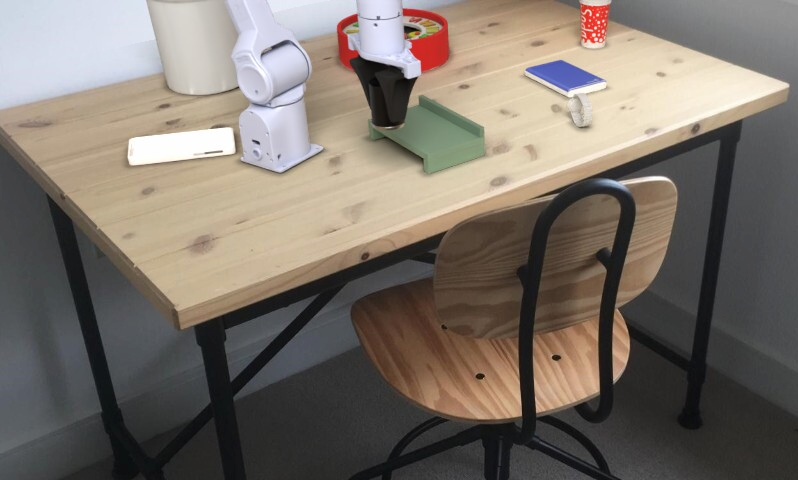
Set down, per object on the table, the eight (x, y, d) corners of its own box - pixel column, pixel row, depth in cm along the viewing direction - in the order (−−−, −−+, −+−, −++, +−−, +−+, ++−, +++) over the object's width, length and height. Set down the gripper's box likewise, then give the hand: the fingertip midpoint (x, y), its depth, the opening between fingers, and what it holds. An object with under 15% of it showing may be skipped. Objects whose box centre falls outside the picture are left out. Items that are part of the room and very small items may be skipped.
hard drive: (606, 79, 163) (562, 58, 171) (568, 89, 159) (525, 67, 167) (606, 88, 164) (562, 67, 172) (568, 98, 160) (525, 76, 168)
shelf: (428, 174, 136) (427, 145, 134) (369, 137, 147) (366, 110, 144) (484, 155, 142) (484, 127, 139) (423, 121, 152) (422, 94, 149)
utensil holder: (199, 104, 158) (178, -4, 148) (144, 84, 165) (121, -20, 155) (269, 78, 168) (253, -25, 158) (214, 60, 175) (196, -39, 165)
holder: (391, 133, 127) (388, 90, 124) (364, 126, 129) (360, 83, 126) (412, 121, 131) (409, 79, 127) (385, 114, 133) (382, 72, 129)
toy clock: (468, 17, 177) (408, 49, 162) (469, 48, 180) (411, 83, 166) (378, 2, 185) (313, 32, 170) (380, 32, 188) (317, 64, 173)
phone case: (233, 134, 148) (131, 146, 144) (232, 126, 147) (129, 137, 143) (236, 154, 142) (129, 166, 138) (234, 145, 141) (127, 158, 138)
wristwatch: (582, 118, 153) (583, 88, 150) (595, 130, 149) (597, 99, 146) (565, 120, 152) (566, 90, 149) (578, 132, 148) (579, 102, 145)
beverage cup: (572, 41, 184) (575, -35, 176) (602, 37, 185) (606, -37, 178) (583, 51, 179) (587, -26, 171) (614, 48, 181) (618, -29, 173)
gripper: (439, 21, 119) (443, 123, 127) (376, -6, 128) (384, 91, 136) (390, 32, 115) (398, 137, 123) (330, 4, 125) (340, 103, 132)
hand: (387, 114), depth 129 cm, fingers closed on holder, 4 cm apart
